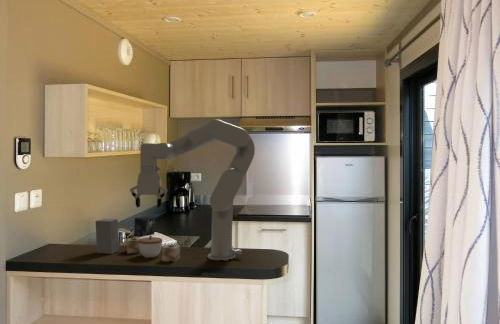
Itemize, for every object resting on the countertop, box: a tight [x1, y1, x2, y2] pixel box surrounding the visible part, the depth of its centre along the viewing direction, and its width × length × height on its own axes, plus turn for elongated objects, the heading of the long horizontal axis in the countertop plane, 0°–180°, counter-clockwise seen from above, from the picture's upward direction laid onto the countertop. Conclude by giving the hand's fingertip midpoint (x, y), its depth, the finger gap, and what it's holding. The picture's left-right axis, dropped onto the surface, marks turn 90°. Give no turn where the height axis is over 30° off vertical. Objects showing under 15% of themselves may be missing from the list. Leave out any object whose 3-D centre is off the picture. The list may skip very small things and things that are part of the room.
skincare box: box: [95, 218, 120, 255], centre depth 195 cm, size 8×7×16 cm
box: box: [133, 215, 156, 238], centre depth 241 cm, size 11×7×10 cm, turn 148°
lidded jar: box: [138, 235, 163, 259], centre depth 190 cm, size 11×11×9 cm
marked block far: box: [126, 237, 142, 254], centre depth 198 cm, size 6×6×6 cm
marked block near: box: [161, 244, 181, 263], centre depth 183 cm, size 6×6×6 cm
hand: (148, 207), depth 190 cm, fingers open, 9 cm apart
